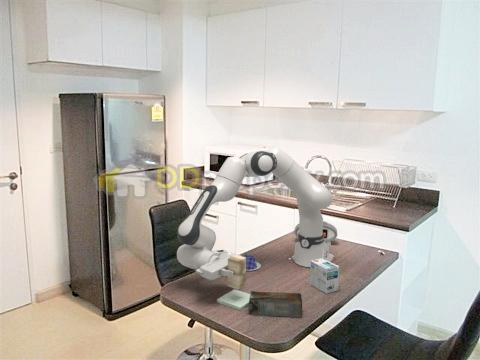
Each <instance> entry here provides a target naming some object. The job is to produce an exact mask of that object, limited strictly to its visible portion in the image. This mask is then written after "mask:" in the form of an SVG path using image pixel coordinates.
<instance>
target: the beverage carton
mask: <svg viewBox="0 0 480 360" xmlns="http://www.w3.org/2000/svg"><path fill="white" fill-rule="evenodd" d="M249 294H250V298H249V305H248V315H250V316H252V315H254V316H268V317H290V318H302V314H303V298H302V293H301V292H278V291H277V292H274V291H273V292H270V291H254V290H253V291H252V290H251V291H250V293H249Z"/></svg>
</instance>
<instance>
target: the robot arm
mask: <svg viewBox="0 0 480 360" xmlns="http://www.w3.org/2000/svg"><path fill="white" fill-rule="evenodd" d="M270 173H272V174H273V176H275V178H277V179H278V180H279V181H280V182H281V183H282V184H283V185H285V187H287V188H288V189H289V190H291V192H293V193H294V195H295V198H296V203H297V210H298V217H299V221H298V222H299V223H298V224H299V233H298V237H297V241H296V242H295V243H294V244H295V246H294V253H293V255H291V259H292V260H293V261H294V263H295V264H297V265H298V266H301V267H306V268H311V260H316V259H321V258H323V259H325V260H327V261H329V262H331V263H332V261H333V259H334V254H333V253H330V245H327V244H326V243H325V242H324V237H325V236H326V234H325V233H323V221H324V218H323V215H322V212H321V210H326V209H328V207H330V206H331V204H332V202H333V194H332V192H331V191H330V190H329V189H328V188H326V187H325V186H324V185H323V184H322V183H321V182H320V181H319V180H318V179H316V178H315V177H314V176H313V175H311V174H310V173H309V172H307V171H306V170H305V169H304V168H303V167H302V166H301V165H299V163H297V161H296V160H294V158H292V156H290V155H289V154H288V153H287V152H286V151H284V150H282V149H280V148H279V147H276V146H275V147H271V148H270V149H268V150H267V151H264V150H259V151H251V152H248V153H244V154H243V155H241V156H240V157H238V156H229V157H227V158H226V159H225V161H224V162H223V164H222V165H221V167H220V169H218V172H217V174H216V176H215V178H214V179H213V181H212V183H210V185H207V186H206V187H205V188H204V189H203V191H202V192H201V194H200V195H199V196H198V198H197V199H196V201H195V203H194V205H193V206H192V207H191V209H190V210H189V213H188V214H187V216H186V217H184V219H183V220H182V221H181V222H180V224H179V225H178V227H177V232H176V233H177V239H178V242H180V243H181V244H182V245H180V246H179V247H178V249H177V251H176V258H177V262H179V263H180V265H182V266H184V267H186V268H189V269H192V270H195V273H196V274H199V276H200V277H202V278H204V279H206V280H209V281H214V280H216V279H218V278H221V277H222V276H223V277H225V276H227V277H228V276H234V275H235V271H233V270H228V258H230V257H232V256H234V255H238V256H242V255H240V254H237V253H233V252H230V251H227V250H226V249H220V250H213V248H214V246H215V243H216V240H217V236H216V233H215V231H214V230H213V229H211V228H209V227H208V226H206V225H204V224H202V221H203V219H204V217H205V216H206V215H207V213H208V212H209V210H210V208H211V206H212V205H214V204H216V203H218V202H220V203H223V202H229V201H232V200H233V199H234V198H235V196H237V194H238V192H239V190H240V188H241V185H242V183H243V181H244V179H245V178H246V177H248V178H249V177H252V178H258V177H265V176H267V175H269V174H270Z"/></svg>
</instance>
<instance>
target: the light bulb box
mask: <svg viewBox="0 0 480 360" xmlns="http://www.w3.org/2000/svg"><path fill="white" fill-rule="evenodd" d="M309 268H310V272H309V275H310V276H309V285H311V286H312V287H314V288H316V289H317V290H319V291H320V292H323V293H324V294H330V293H335V292H337V291H339V282H340V280H339V279H340V266H339V265H337V264H335V263H333V262H332V261H331V262H329V261H327V260H325V259H323V258H321V259H316V260H311V267H309Z"/></svg>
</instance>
